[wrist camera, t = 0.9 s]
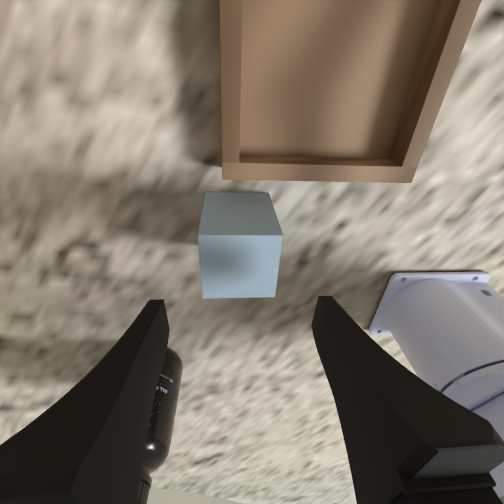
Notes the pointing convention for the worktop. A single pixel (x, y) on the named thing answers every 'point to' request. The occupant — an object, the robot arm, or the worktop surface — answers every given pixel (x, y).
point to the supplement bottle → (161, 421)
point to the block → (239, 245)
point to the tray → (334, 85)
